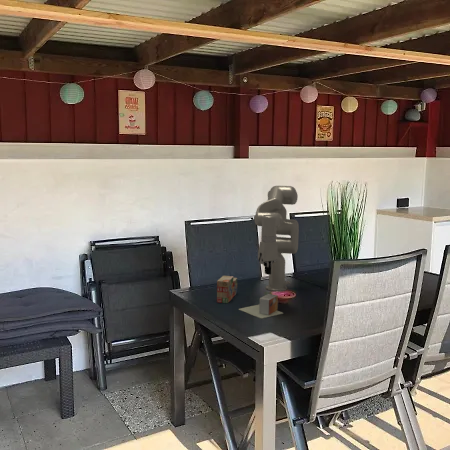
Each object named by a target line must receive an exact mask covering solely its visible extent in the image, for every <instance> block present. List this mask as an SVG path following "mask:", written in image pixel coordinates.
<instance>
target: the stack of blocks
mask: <svg viewBox="0 0 450 450" xmlns="http://www.w3.org/2000/svg"><path fill="white" fill-rule="evenodd" d="M237 294H238V278H237V277H234V276H233V275H231V276H230V275H222V276H221V277H220V278H218V280H216V303H220V304H221V303H222V304H229V302H230V301H231V300H233V298H234V297H235V296H236V295H237Z"/></svg>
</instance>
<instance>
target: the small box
mask: <svg viewBox="0 0 450 450" xmlns="http://www.w3.org/2000/svg"><path fill="white" fill-rule="evenodd" d="M278 298H279V295H277V294H272V293H267V294H265V295H264V296H261V297H260V298H259V303H258V305H259V313H261V314H266V315H270V314H271V313H273V312H275V311H278V307H279V306H278V302H279V301H278Z"/></svg>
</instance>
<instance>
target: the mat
mask: <svg viewBox="0 0 450 450" xmlns="http://www.w3.org/2000/svg"><path fill="white" fill-rule="evenodd" d="M238 310H239V311H241V312H244V313H246V314H248V315H251V316H252V317H253V316H254V317H256V318H258V319H261V320H262V319H266V318H270V317H274V316H279V315H283V314H284V312H283V311H279V310H277V311H275V312H273V313H271V314H270V315H266V314H261V313H259V304H256V305H251V306H245V307H242V308H241V307H240V308H238Z"/></svg>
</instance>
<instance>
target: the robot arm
mask: <svg viewBox="0 0 450 450" xmlns="http://www.w3.org/2000/svg"><path fill="white" fill-rule="evenodd" d="M297 202H298V192H297V190H296V188H295V187H294V186H291V185H274V186H272V187H270V189H269V190H268V191H267V200H266V201H264V202H263V203H260V204H259V205H258V206H257V208H256V210H255V211H256V212H255V215H254V223H255V225H256V226H258V227H261V236H260V237H261V240H260V242H259V245H258V250H257V251H258V252H257V260H258V261H259V264H260V265H263V266H264V274H265V275H268V285H266V286H265V289H266V290H267V291H272V292H284V291H287V290H288V287H287V285H291V281H290V280H288V281H286V280H285V279H286V259H285V257H284V255H283V254H286V255H287V254H289V255H290V254H291V255H295V254H296V253H297V252H298V250H299V233H300V231H299V228H300V227H299V226H300V225H299V222H298V220H296V219H293V218H290V219H289V218H287V215H288V214H287V208H286V207H285V206H284V205H291V206H292V205H296V204H297ZM278 235H279V236H278ZM284 236H290V237H284Z"/></svg>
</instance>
